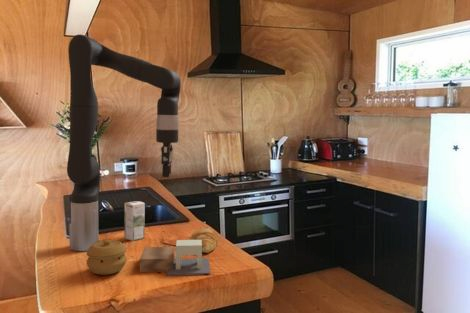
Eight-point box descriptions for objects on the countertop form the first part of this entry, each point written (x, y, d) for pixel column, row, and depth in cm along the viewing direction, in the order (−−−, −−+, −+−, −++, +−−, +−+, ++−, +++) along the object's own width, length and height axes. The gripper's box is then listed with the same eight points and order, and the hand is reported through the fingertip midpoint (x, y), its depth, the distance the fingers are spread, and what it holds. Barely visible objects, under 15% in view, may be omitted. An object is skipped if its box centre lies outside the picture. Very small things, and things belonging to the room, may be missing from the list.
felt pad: (166, 275, 117) (166, 273, 117) (169, 260, 130) (169, 258, 130) (210, 274, 118) (210, 272, 118) (208, 259, 131) (208, 258, 131)
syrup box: (136, 235, 158) (135, 200, 157) (145, 238, 155) (145, 202, 153) (124, 238, 154) (123, 202, 153) (133, 241, 150) (132, 204, 149)
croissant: (214, 264, 137) (225, 244, 137) (189, 252, 135) (200, 232, 135) (207, 244, 157) (217, 227, 157) (186, 234, 155) (195, 216, 155)
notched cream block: (201, 268, 121) (201, 245, 120) (175, 269, 120) (175, 245, 120) (201, 262, 127) (201, 239, 126) (176, 262, 126) (176, 240, 126)
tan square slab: (139, 272, 119) (139, 259, 119) (144, 258, 131) (144, 247, 131) (172, 271, 120) (172, 258, 120) (174, 258, 132) (174, 246, 132)
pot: (130, 264, 125) (130, 234, 124) (121, 279, 114) (121, 245, 113) (94, 264, 125) (93, 234, 124) (80, 279, 113) (80, 245, 112)
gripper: (177, 129, 126) (176, 178, 128) (179, 128, 140) (178, 173, 142) (153, 128, 126) (153, 178, 127) (158, 128, 140) (157, 172, 141)
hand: (166, 175), depth 134 cm, fingers open, 8 cm apart
